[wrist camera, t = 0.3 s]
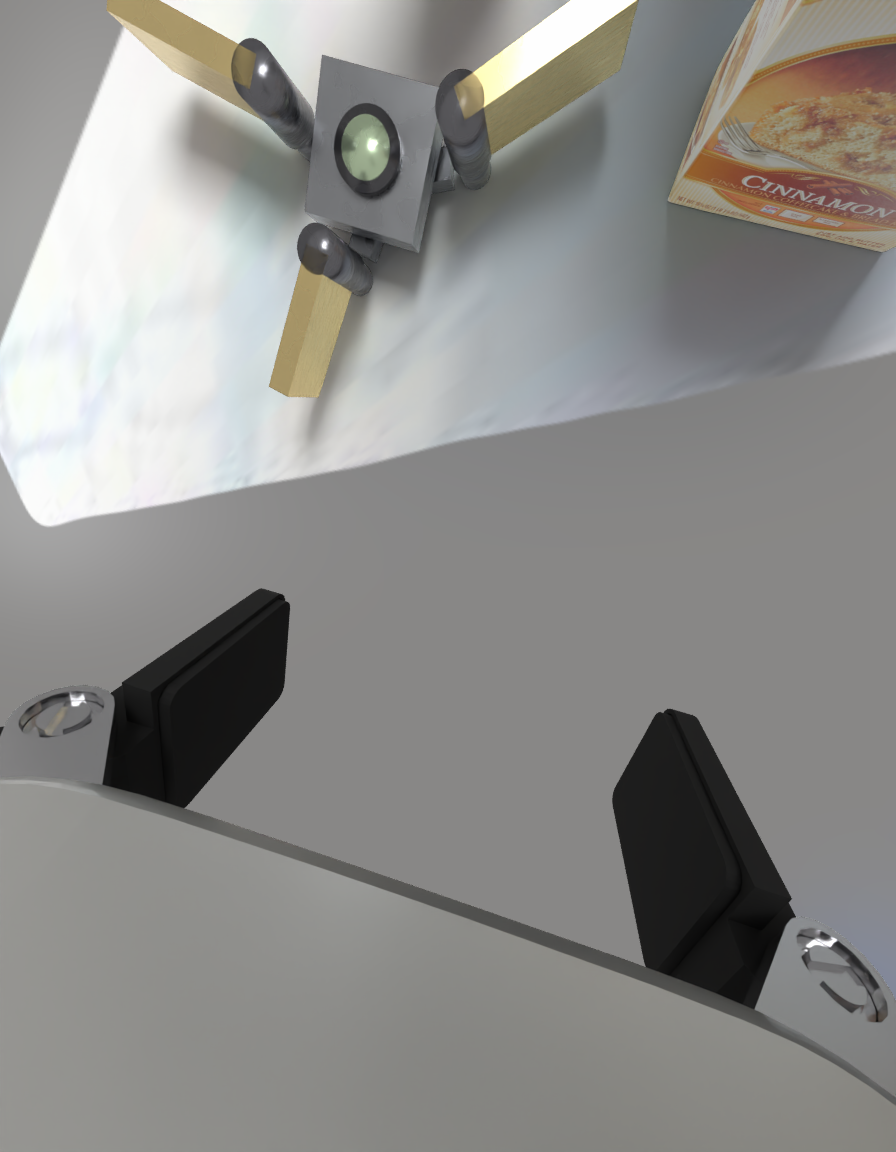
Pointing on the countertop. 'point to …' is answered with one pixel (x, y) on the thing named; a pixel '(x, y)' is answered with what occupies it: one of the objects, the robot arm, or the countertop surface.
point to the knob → (530, 81)
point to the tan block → (317, 310)
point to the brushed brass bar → (222, 67)
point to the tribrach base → (375, 156)
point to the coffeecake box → (802, 123)
